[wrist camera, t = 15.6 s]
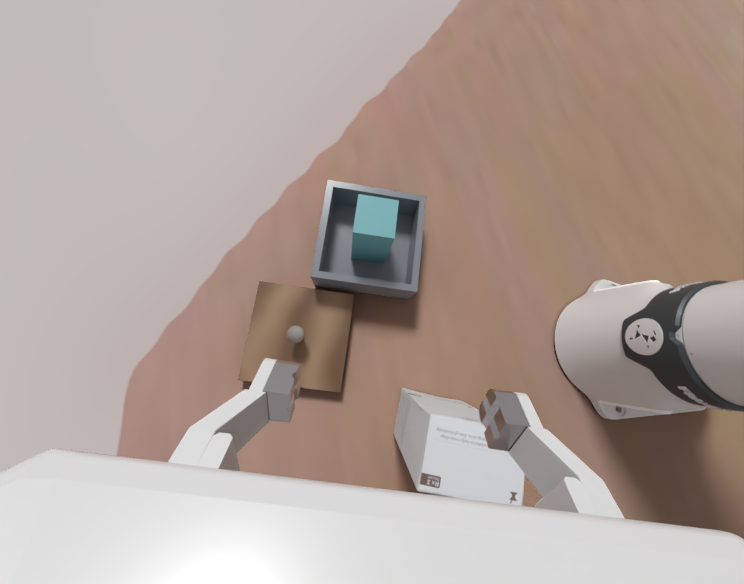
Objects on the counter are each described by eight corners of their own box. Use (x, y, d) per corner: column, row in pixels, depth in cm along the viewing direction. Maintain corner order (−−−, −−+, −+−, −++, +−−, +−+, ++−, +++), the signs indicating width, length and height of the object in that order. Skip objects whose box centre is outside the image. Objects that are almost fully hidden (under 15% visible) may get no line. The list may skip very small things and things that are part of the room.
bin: (416, 214, 42) (426, 196, 37) (408, 299, 39) (417, 291, 34) (330, 200, 41) (327, 179, 36) (315, 286, 38) (310, 276, 33)
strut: (387, 233, 40) (399, 200, 31) (383, 264, 39) (394, 238, 30) (355, 229, 39) (358, 193, 31) (351, 259, 38) (352, 232, 30)
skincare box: (461, 400, 37) (536, 431, 22) (454, 450, 36) (529, 518, 21) (397, 386, 36) (431, 409, 22) (388, 437, 35) (418, 496, 21)
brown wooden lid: (354, 296, 38) (355, 289, 33) (340, 390, 36) (339, 396, 31) (262, 283, 38) (250, 274, 33) (242, 378, 35) (226, 383, 30)
